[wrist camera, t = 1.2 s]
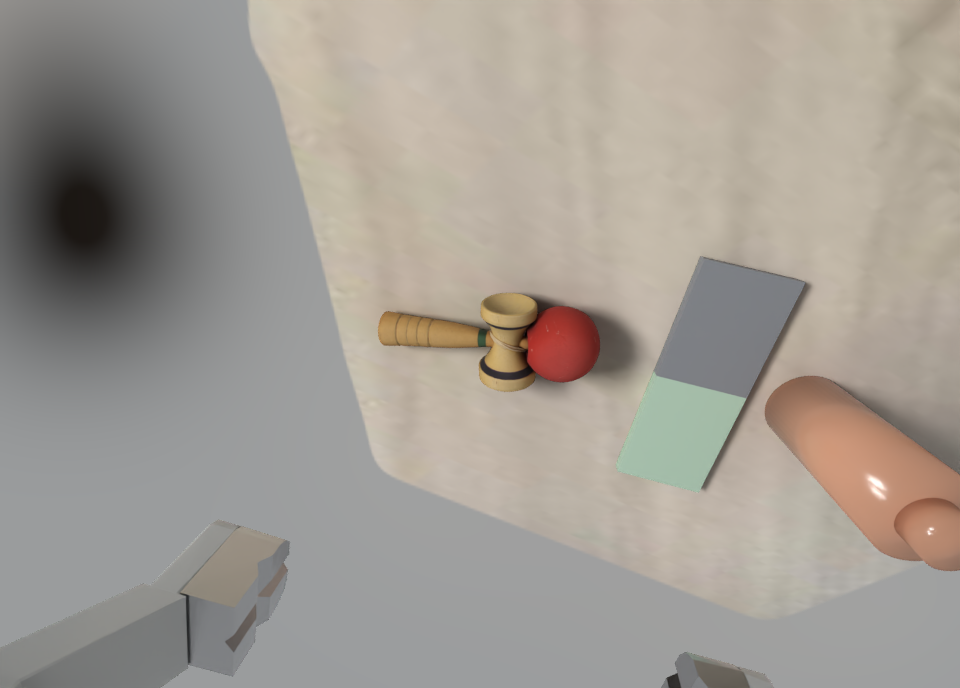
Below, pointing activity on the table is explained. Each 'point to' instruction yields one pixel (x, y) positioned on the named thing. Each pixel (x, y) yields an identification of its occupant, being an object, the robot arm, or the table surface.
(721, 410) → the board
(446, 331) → the kendama
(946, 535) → the bottle
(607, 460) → the table surface
